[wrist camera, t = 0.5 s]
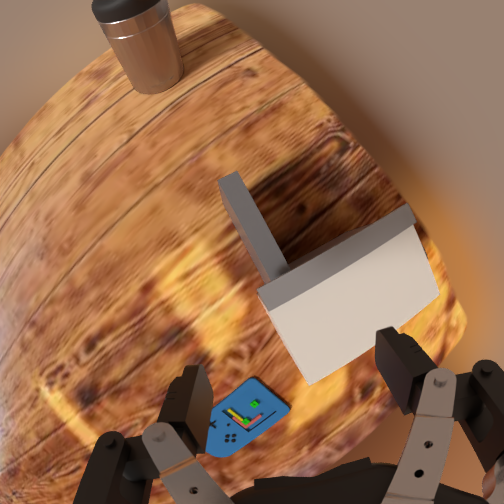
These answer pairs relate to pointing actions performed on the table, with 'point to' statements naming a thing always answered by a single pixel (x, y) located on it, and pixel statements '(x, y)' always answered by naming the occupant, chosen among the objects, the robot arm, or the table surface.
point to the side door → (261, 230)
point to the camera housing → (350, 294)
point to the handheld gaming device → (243, 417)
